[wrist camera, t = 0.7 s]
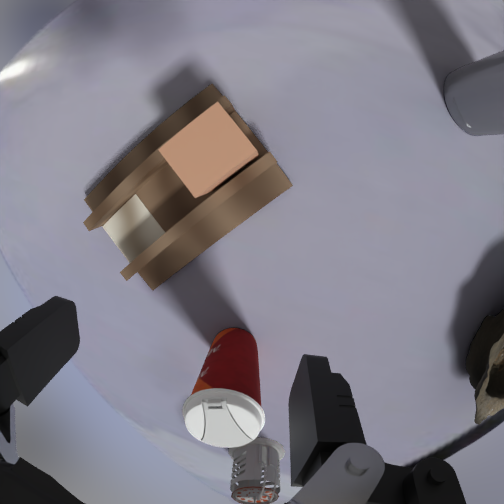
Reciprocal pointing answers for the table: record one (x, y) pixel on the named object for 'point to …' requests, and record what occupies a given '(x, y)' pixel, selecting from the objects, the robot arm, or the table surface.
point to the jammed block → (208, 151)
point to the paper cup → (227, 393)
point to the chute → (177, 199)
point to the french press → (256, 471)
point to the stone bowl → (487, 367)
